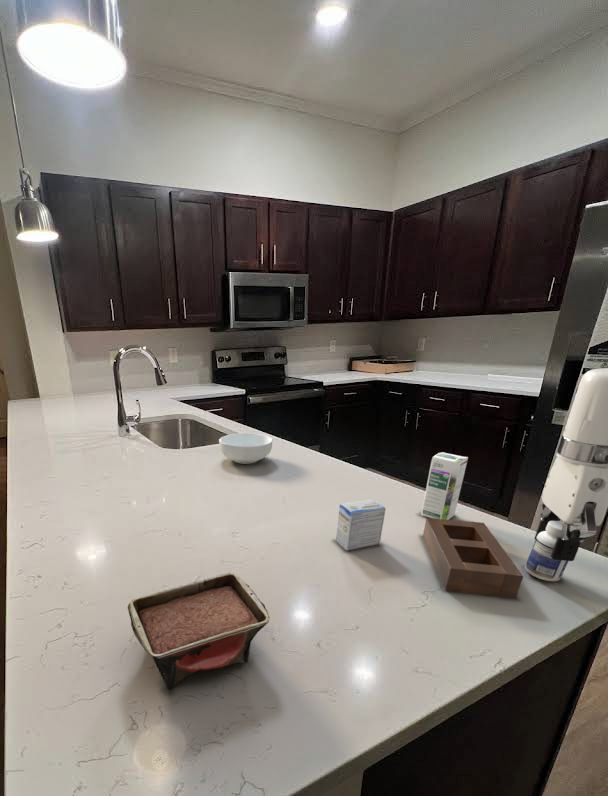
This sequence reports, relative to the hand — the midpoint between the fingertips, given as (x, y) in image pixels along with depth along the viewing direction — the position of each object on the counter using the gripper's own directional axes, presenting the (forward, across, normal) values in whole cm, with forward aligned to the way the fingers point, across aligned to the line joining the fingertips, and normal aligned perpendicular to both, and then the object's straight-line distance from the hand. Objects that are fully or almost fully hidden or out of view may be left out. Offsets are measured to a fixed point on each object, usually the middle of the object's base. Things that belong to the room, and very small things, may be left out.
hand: (553, 549), depth 73 cm
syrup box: (+6, +22, +13) cm, 26 cm away
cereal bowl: (+6, +53, +64) cm, 83 cm away
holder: (+5, +1, +13) cm, 14 cm away
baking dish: (+6, -30, +56) cm, 64 cm away
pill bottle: (+5, 0, 0) cm, 5 cm away
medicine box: (+6, +5, +32) cm, 33 cm away
